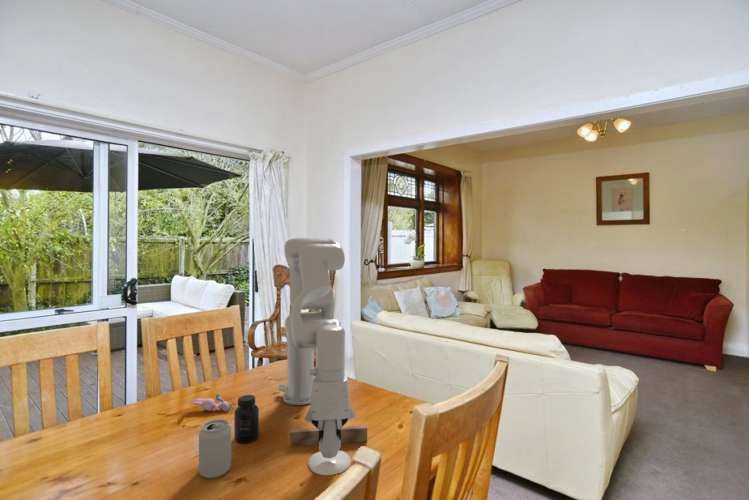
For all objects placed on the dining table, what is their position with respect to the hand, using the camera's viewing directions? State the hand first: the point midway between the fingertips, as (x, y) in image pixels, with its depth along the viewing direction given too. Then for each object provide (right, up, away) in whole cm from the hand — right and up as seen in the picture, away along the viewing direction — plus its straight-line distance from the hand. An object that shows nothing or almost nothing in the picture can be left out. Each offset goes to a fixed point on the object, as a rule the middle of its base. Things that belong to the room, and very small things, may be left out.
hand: (329, 441), depth 100 cm
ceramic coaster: (0, -5, 0) cm, 5 cm away
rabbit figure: (-43, -5, +30) cm, 53 cm away
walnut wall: (-1, -5, +10) cm, 11 cm away
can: (-28, -5, -4) cm, 29 cm away
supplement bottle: (-26, -5, +12) cm, 29 cm away
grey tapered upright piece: (0, -3, 0) cm, 3 cm away
